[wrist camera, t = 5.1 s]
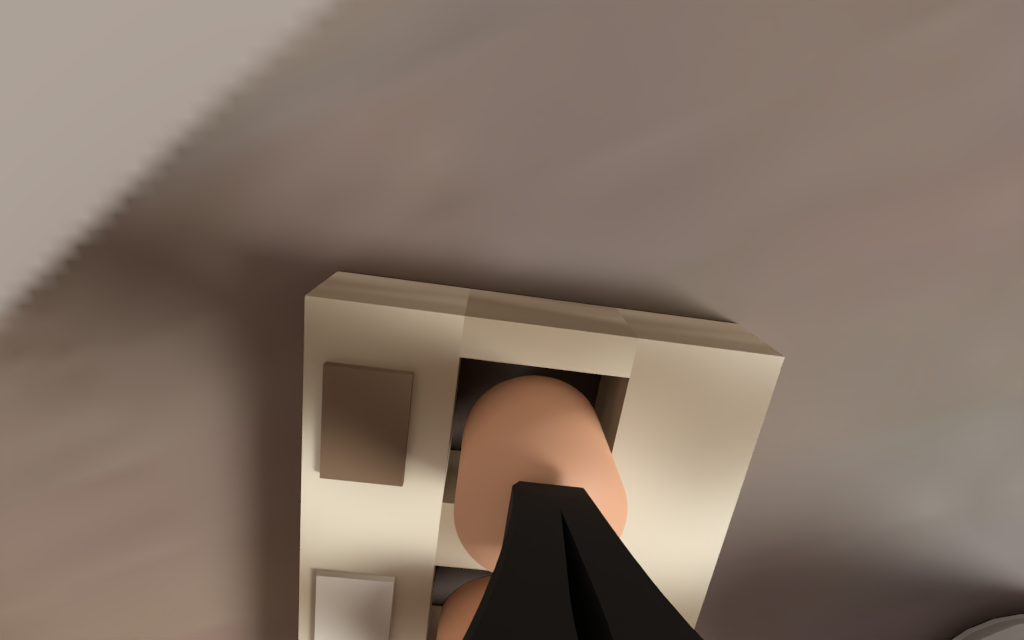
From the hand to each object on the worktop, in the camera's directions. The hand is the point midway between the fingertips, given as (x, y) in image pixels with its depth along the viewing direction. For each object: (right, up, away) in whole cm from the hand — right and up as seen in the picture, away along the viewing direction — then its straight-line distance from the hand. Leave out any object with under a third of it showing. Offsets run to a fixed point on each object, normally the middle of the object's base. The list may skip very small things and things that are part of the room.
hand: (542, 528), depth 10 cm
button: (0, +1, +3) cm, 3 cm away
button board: (-1, -4, +7) cm, 8 cm away
